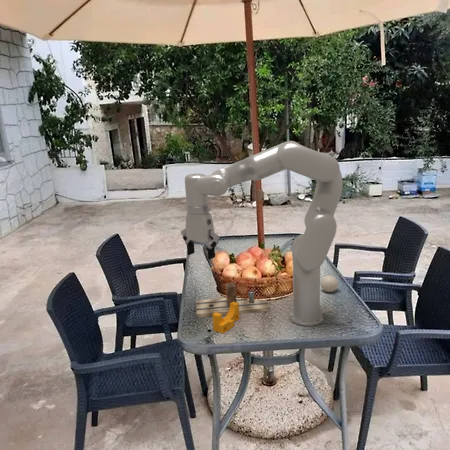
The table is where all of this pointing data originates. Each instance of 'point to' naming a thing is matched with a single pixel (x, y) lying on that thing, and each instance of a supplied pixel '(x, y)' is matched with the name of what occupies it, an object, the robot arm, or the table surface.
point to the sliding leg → (230, 292)
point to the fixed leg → (251, 297)
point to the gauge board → (228, 306)
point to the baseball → (329, 283)
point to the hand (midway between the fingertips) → (201, 256)
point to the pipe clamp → (226, 319)
